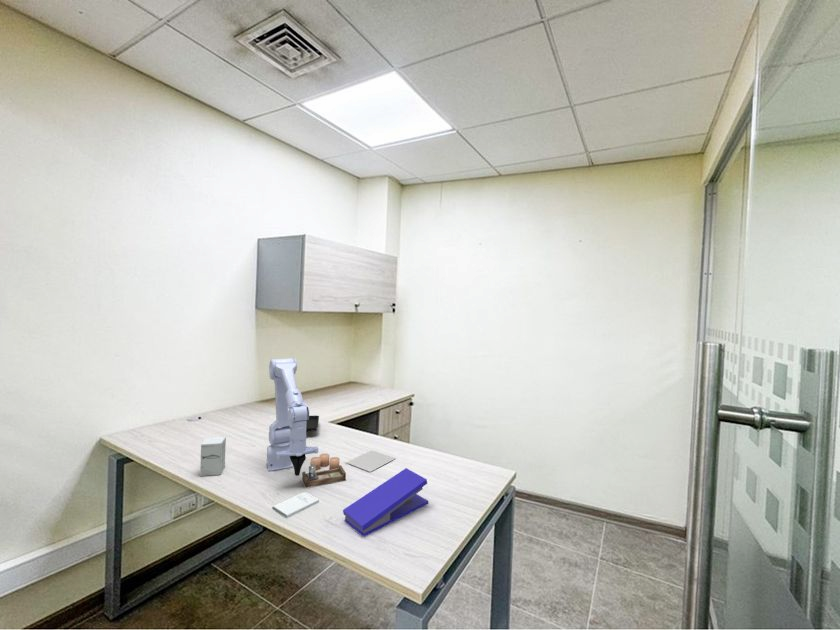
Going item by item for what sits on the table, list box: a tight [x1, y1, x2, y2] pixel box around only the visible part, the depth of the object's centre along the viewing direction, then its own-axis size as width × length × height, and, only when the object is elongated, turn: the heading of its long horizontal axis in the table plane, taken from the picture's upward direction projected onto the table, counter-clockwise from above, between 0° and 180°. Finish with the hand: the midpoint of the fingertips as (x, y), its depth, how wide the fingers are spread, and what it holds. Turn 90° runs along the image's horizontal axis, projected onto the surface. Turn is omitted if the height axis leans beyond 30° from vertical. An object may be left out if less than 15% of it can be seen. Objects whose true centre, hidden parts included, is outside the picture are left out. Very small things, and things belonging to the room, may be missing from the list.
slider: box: [305, 465, 318, 481], centre depth 140 cm, size 3×5×5 cm, turn 27°
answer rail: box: [301, 464, 347, 489], centre depth 143 cm, size 15×7×3 cm, turn 117°
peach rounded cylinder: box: [318, 453, 330, 468], centre depth 156 cm, size 4×4×4 cm
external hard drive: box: [271, 491, 320, 519], centre depth 125 cm, size 2×8×12 cm
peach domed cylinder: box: [328, 456, 340, 470], centre depth 152 cm, size 4×4×4 cm
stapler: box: [342, 467, 429, 537], centre depth 123 cm, size 12×28×10 cm, turn 135°
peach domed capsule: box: [310, 456, 322, 472], centre depth 152 cm, size 4×4×4 cm
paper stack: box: [345, 449, 397, 473], centre depth 155 cm, size 23×25×1 cm
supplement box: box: [199, 436, 227, 477], centre depth 146 cm, size 7×7×13 cm
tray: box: [276, 415, 320, 434], centre depth 195 cm, size 30×23×5 cm
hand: (297, 474), depth 138 cm, fingers closed
